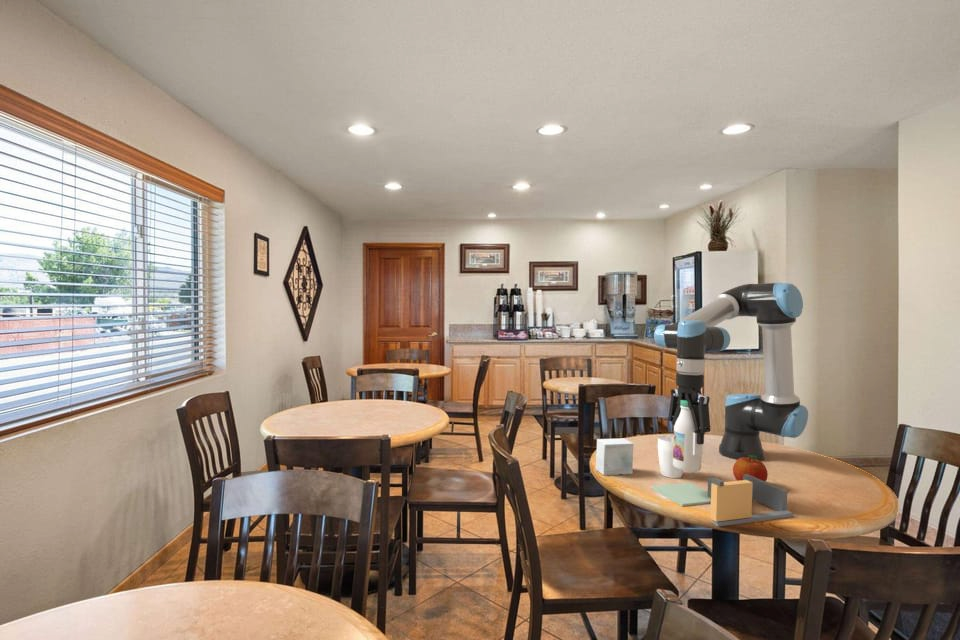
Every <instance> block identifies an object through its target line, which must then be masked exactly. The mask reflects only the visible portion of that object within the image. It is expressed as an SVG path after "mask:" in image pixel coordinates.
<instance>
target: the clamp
mask: <svg viewBox="0 0 960 640" xmlns="http://www.w3.org/2000/svg"><path fill="white" fill-rule="evenodd" d="M712 478H713V477H708V478H707V491H708V497H709V498H711V483H712ZM743 480H748V481H750V482H752V483H753V485H752V501H755V502H757V503H760V504H762V505H763V504H764V505H763V506H766V507H769V509H773V510H775V511H767V512H761V513H760V512H759V513H753V514H752V515H751V517H749V518H741V519H733V520H726V521H718V522H716V521H714V520H712V519H711V520H712V521H711V523H712V524H713V525H714V526H717V527H724V526H725V527H726V526H733V525H741V524H747V523H755V522H756V523H757V522H763V521H769V520H770V521H771V520H778V519H786V518H793V517H794V516H793V514H794V513H793V512H791V511H789V510H788V509H787V508H788V490H786V489H784V488H782V487H779V486H777V485H774V484H772V483H770V482H767V481H766V482H765V481H763V480H760V479H758V478H755V477H753V476H750V475H748V474H744V475H743Z"/></svg>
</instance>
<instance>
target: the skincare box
mask: <svg viewBox="0 0 960 640" xmlns="http://www.w3.org/2000/svg"><path fill="white" fill-rule="evenodd" d="M595 457H596V458H595V470H596V471H597V472H599V473H600V474H601V475H603V476H619V474H623V475H633V465H634V464H633V462H634V443H633V442H632V441H630V440H628V439H627V438H623V437H621V438H598V439H596V456H595Z"/></svg>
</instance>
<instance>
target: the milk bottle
mask: <svg viewBox="0 0 960 640" xmlns="http://www.w3.org/2000/svg"><path fill="white" fill-rule="evenodd" d="M680 405H681V406H680V407H681V412H680V415H679V417H678V419H677V421H676V423H675V427H674V435H673V436H674V442H673V466H674V467H675V468H676V469H679V470H683V472H691V473H692V472H693V473H694V472H700V471H701V469H702V461H703V460H702V459H703V458H702V457H703V454H702V455H695V456H694V455H693V432H694V431H696V430H695V426H694V422H693V418H692V413H691V410H690V409H689V407H688V402H687V401H686V400H681V401H680ZM693 406H697V404H696V405H693ZM699 428H700V427H699Z"/></svg>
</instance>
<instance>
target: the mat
mask: <svg viewBox="0 0 960 640" xmlns="http://www.w3.org/2000/svg"><path fill="white" fill-rule="evenodd" d="M650 489H652V490H654V491H655V492H657V493H659V494H661V495H662V496H664V497H666V498H667V499H669V500H670V501H673V502H674V503H676V504H677V505H679V506H681V507H688V506H697V505H704V504H705V505H706V504H707V505H708V504H711V498H709V497H708V490H706V489H704V488H702V487H701V486H698V485H696V484H694V483H692V482H682V483H679V482H678V483H672V484H660V485H651V487H650Z"/></svg>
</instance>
